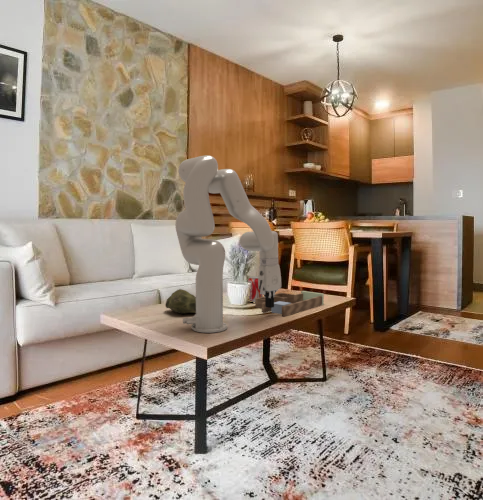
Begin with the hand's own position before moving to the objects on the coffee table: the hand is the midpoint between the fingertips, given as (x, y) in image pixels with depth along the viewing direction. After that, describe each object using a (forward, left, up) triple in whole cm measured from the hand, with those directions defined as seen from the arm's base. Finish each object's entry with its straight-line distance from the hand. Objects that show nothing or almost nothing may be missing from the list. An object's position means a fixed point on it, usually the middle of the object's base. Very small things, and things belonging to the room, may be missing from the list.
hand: (269, 307), depth 160 cm
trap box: (+11, +14, -4) cm, 18 cm away
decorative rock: (-33, +12, -4) cm, 36 cm away
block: (+6, +5, -4) cm, 9 cm away
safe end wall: (+26, +20, -3) cm, 33 cm away
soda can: (+1, +27, -4) cm, 28 cm away
